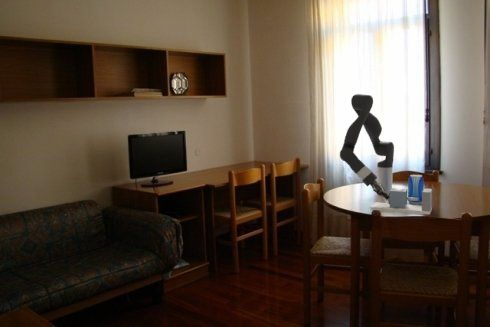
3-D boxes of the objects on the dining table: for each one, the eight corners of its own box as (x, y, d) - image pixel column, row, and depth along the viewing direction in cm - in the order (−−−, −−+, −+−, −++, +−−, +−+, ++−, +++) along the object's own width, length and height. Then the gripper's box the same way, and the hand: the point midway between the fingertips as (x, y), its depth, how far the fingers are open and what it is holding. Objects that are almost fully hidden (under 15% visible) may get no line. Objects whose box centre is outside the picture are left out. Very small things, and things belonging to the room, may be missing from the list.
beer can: (407, 200, 268) (408, 174, 265) (423, 201, 265) (423, 174, 262) (407, 204, 260) (408, 176, 258) (423, 204, 257) (423, 177, 255)
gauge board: (375, 204, 260) (375, 185, 258) (431, 209, 246) (432, 188, 245) (370, 209, 249) (371, 189, 248) (429, 214, 236) (430, 192, 234)
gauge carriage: (390, 203, 254) (391, 187, 253) (418, 205, 247) (419, 189, 246) (387, 207, 246) (388, 190, 244) (416, 209, 239) (416, 192, 238)
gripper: (368, 173, 247) (391, 197, 243) (373, 169, 258) (395, 192, 254) (358, 182, 250) (381, 205, 246) (364, 178, 262) (385, 200, 258)
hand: (388, 199), depth 250 cm, fingers closed
